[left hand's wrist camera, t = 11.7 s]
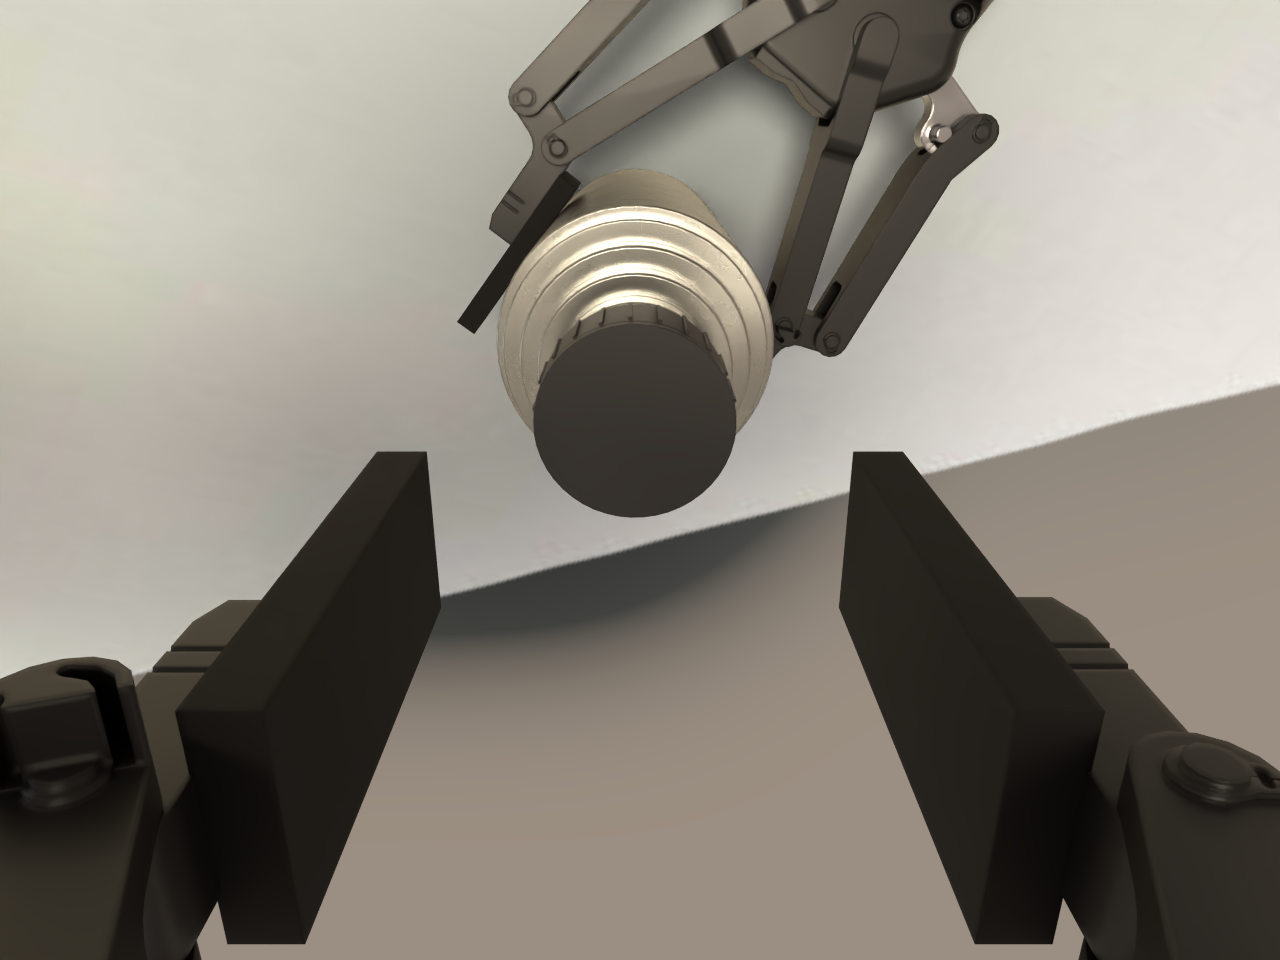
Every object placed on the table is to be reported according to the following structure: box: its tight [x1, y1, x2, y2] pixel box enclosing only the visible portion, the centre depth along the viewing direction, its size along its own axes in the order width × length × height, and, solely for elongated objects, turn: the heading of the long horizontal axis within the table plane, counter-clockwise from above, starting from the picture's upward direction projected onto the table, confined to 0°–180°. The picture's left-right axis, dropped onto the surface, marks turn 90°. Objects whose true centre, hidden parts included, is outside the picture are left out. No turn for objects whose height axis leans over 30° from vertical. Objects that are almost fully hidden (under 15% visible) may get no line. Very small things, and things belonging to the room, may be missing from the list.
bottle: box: [497, 169, 774, 435], centre depth 30 cm, size 8×8×23 cm
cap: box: [532, 302, 737, 517], centre depth 20 cm, size 4×4×2 cm
